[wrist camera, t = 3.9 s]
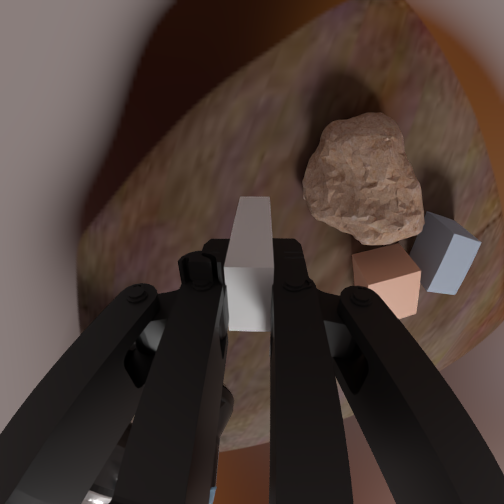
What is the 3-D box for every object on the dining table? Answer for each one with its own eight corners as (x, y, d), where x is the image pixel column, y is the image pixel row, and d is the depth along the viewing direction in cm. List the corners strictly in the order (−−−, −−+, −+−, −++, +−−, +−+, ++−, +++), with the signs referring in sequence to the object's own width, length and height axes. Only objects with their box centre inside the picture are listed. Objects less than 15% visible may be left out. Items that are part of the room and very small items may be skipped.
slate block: (405, 262, 30) (426, 291, 25) (426, 210, 27) (454, 233, 22) (433, 267, 30) (455, 294, 25) (453, 220, 27) (481, 242, 22)
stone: (373, 223, 30) (447, 233, 21) (317, 259, 27) (396, 284, 18) (344, 119, 26) (420, 101, 17) (276, 138, 23) (356, 111, 14)
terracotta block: (354, 294, 33) (368, 327, 27) (351, 254, 30) (368, 285, 25) (397, 283, 32) (416, 313, 26) (398, 242, 29) (421, 270, 24)
